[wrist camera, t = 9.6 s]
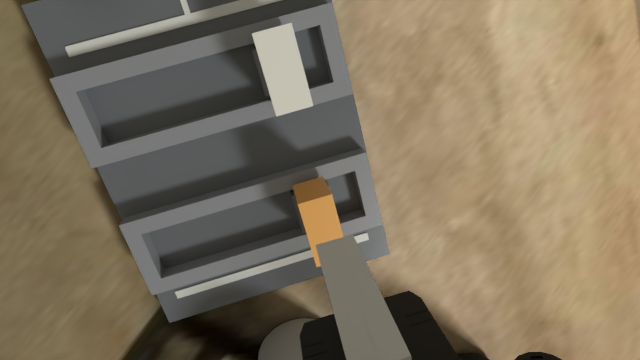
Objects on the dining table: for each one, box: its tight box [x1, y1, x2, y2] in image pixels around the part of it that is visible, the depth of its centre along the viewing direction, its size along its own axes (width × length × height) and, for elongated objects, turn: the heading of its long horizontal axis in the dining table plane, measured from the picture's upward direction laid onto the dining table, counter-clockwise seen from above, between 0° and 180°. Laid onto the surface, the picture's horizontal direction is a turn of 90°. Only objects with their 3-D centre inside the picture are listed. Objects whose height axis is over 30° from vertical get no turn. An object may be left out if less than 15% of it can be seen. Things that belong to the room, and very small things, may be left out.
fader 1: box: [252, 23, 313, 117], centre depth 27 cm, size 3×5×6 cm, turn 15°
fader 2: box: [290, 176, 343, 267], centre depth 31 cm, size 3×5×6 cm, turn 15°
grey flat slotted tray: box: [21, 0, 389, 323], centre depth 32 cm, size 20×26×4 cm
